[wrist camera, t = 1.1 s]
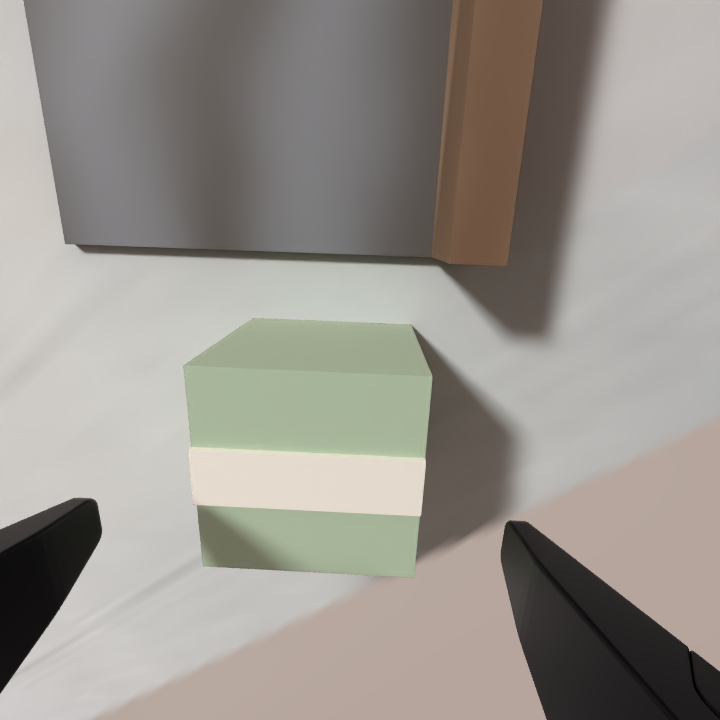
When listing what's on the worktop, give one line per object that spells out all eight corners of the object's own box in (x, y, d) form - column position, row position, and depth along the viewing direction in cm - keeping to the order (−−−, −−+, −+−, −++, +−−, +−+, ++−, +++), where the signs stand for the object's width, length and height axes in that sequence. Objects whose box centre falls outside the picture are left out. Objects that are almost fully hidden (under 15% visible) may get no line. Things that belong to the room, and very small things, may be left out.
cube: (410, 324, 15) (433, 379, 9) (400, 463, 17) (414, 583, 11) (253, 317, 16) (179, 368, 10) (259, 456, 17) (200, 571, 11)
